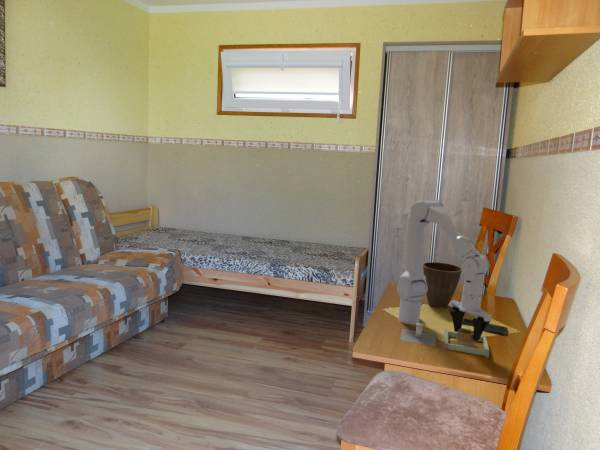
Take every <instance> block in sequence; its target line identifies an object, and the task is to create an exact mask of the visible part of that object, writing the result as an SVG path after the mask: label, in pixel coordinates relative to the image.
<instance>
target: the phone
mask: <svg viewBox="0 0 600 450" xmlns="http://www.w3.org/2000/svg"><path fill="white" fill-rule="evenodd" d="M462 326H468V327H473V328H474V326H473V319H470V318H469V319H468V318H463V321H462ZM508 330H509V329H508V327H505V326H502V325H499V324H498V325H497V324H492V323H489V324H488V325H487V326H486V328H485V329H484V331H483V332H484V333H491V334H493V335H494V334H496V335H499V336H506V335H507V334H508Z"/></svg>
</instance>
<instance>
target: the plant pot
mask: <svg viewBox="0 0 600 450" xmlns="http://www.w3.org/2000/svg"><path fill="white" fill-rule="evenodd" d="M422 271H423V274H424V275H425V276H426V284H427V287H428V290H427V293H426V299H427V303H428V305H430V306H431V307H434V308H437V309H439V308H440V309H446V308H448V306H450V303H451V301H452V299H453V297H454V294H455V293H456V290H457V287H458V285H459V283H460V278H461V275H462V272H463V269H462V267H460V266H458V265H454V264H451V263H446V262H437V261H435V262H433V261H431V262H430V261H429V262H424V263H422Z"/></svg>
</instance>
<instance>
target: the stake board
mask: <svg viewBox="0 0 600 450" xmlns="http://www.w3.org/2000/svg"><path fill="white" fill-rule="evenodd" d="M415 326H416V328H415V330H412V329H406V328H402V330H401V334H400V338H399V341H402V342H408V343H412V344H413V343H415V344H419V345H426V346H432V347H437V334H436V333H431V332H424V331H423V330H424V326H425V324H424V323H422V322H419V323H416V324H415Z"/></svg>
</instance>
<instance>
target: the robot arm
mask: <svg viewBox="0 0 600 450" xmlns="http://www.w3.org/2000/svg"><path fill="white" fill-rule="evenodd" d="M407 220H408V221H407V233H406V234H407V236H406V255H405V256H406V257H405V271H404V272H403V273H402V274H401V275H400V276H399V278H398V279H399V281H398V284H397V285H396V291H397V294H398V297H399V299H400V301H399V309H398V310H399V311H398V317H397V318H398V321H399V322H400V323H402V324H406V325H416V323H420V318H421V310H422V309H421V308H422V300H423V299H424V297H425V295H426V293H427V290H428V287H427V284H426V276H425V275H424V272H422V271H423V253H424V252H423V251H424V237H425V235H424V234H425V230H424V229H425V227H426V226H427V225H428V224H430V223H433V224H437V225H438V227H439V228H440V229H441V231H442V232H443V233H444V234H445V235H446V237H448V238H449V240H450V241H451V243H450V244H451V245H450V247H451V249H452V251H454V253H455V254H456V255H457V258H458V259H459V260H460V261H461V268H462V272H463V278H464V279H463V288H462V295H461V301H458V300H456V299H455V300H451V301H450V303H449V307H450V309H449V314H450V317H451V319H452V324H453V332H458V329H462V327H463V325H462V321H463V320H464V319H465V316H466V314H469V315H471V316H474V317H475V318H472V320H473V326H474V327H473V326H472V327H473V331H474V332H473V340H474V341H475V342H479V341H478V340H480V337H481V336H483V333H484V332H485V331H484V329H485V328H486V326H487V325H488V324H491V323H490V322H492V321H491V320H492V314H490V313H488V312H487V311H485V310H483V309H482V308H481V304H482V298H483V291H484V290H483V289H484V285H485V283H484V282H485V277H486V273H488V272H489V271H490V267H491V264H490V263H491V262H490V260H489V258H488V256H487V255H484V254H481V253H480V251H479V250H477V248H476V247H475V246H474V245H473V244H472V239H471V238H470V237H467V236H466V235H462V234H461V233H460V232H459V230H458V228H457V227H456V226H455V224H454V222H453V220H452V219H451V218H450V216H449V214H448V209H447V207H445V205H444V203H443V202H442V201H440V200H421V199H420V200H417V201H415V202H414V203H413V204H412V205H411V206H410V215H409V217H408V219H407ZM426 296H427V295H426Z"/></svg>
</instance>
